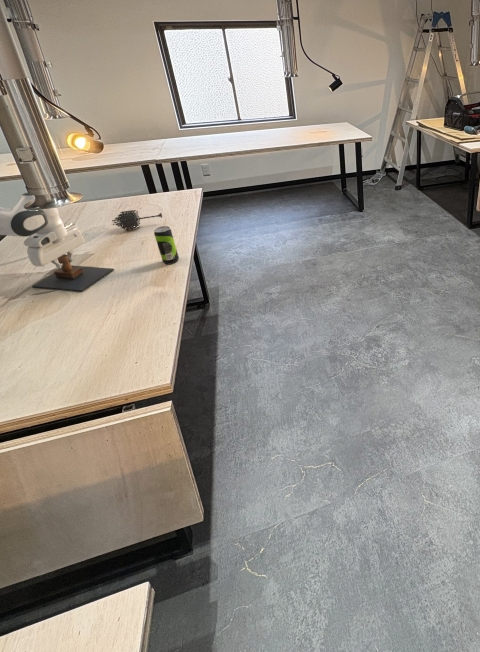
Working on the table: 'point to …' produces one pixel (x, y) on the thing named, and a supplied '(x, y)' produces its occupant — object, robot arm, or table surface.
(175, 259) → the beverage can
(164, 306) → the table surface
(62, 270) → the wooden rubber stamp
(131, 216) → the massage brush
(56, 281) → the mat
